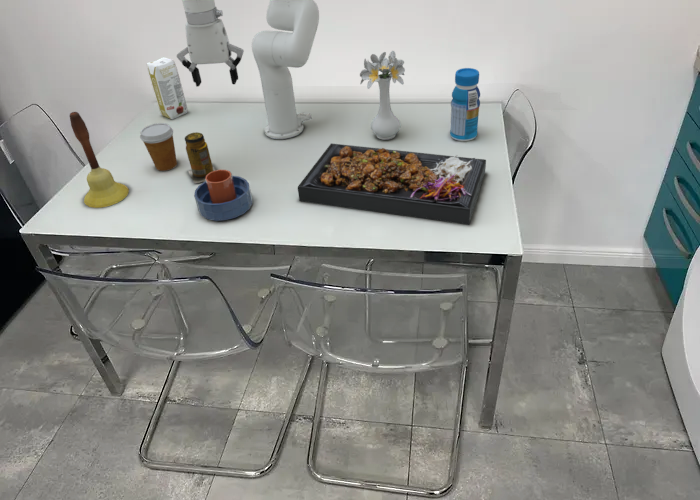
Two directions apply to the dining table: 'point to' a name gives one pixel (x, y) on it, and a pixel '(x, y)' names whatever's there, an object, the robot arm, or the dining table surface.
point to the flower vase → (384, 92)
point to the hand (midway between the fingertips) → (216, 83)
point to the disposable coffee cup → (160, 145)
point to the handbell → (97, 172)
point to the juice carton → (167, 87)
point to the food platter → (395, 182)
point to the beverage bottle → (465, 105)
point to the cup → (220, 186)
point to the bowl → (227, 208)
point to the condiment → (198, 157)
